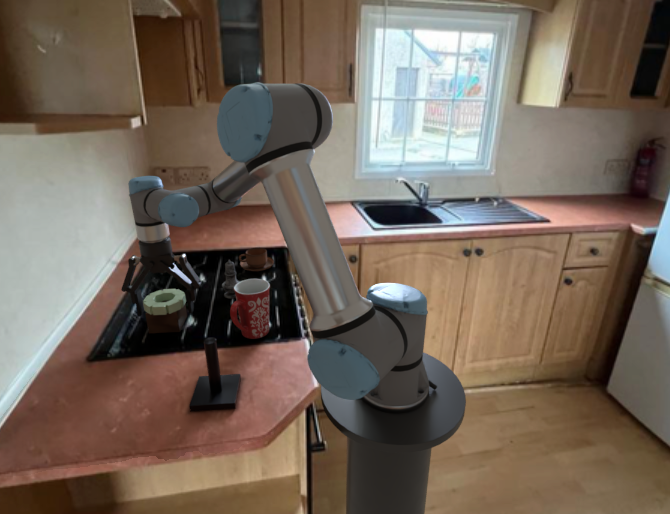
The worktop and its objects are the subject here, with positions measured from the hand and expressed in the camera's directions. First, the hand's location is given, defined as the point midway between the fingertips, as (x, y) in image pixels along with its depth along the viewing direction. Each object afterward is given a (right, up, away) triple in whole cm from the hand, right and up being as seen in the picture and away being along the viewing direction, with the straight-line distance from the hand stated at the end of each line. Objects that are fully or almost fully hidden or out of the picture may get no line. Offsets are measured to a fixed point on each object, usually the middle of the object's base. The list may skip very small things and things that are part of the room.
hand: (166, 312), depth 111 cm
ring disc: (0, +2, -1) cm, 2 cm away
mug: (+24, -6, -3) cm, 24 cm away
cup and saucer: (+18, +10, +37) cm, 42 cm away
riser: (0, -4, +1) cm, 4 cm away
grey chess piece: (+14, +2, +18) cm, 22 cm away
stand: (+21, -13, -24) cm, 34 cm away
